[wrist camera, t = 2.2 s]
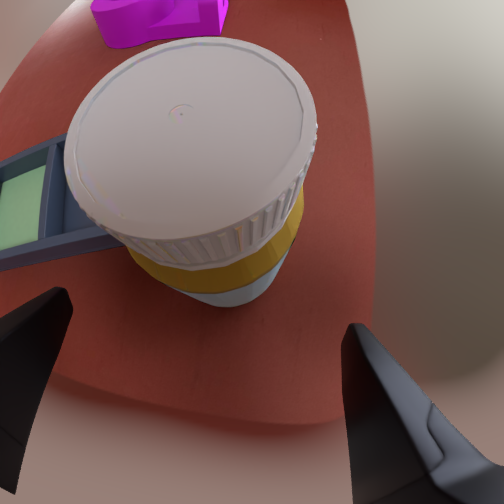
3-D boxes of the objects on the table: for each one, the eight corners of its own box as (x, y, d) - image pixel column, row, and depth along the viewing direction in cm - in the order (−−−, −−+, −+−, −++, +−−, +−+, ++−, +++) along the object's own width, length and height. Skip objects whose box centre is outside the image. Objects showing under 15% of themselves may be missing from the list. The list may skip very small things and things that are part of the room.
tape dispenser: (93, 54, 26) (77, 19, 20) (119, 15, 29) (109, -16, 23) (219, 38, 26) (215, -6, 20) (229, 2, 29) (227, -34, 23)
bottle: (181, 209, 21) (95, 47, 7) (277, 210, 21) (317, 32, 7) (175, 305, 20) (22, 259, 5) (278, 308, 20) (354, 268, 5)
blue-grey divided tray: (170, 237, 21) (158, 224, 18) (-8, 273, 20) (-28, 267, 17) (164, 127, 23) (156, 105, 20) (3, 180, 22) (-14, 168, 19)
